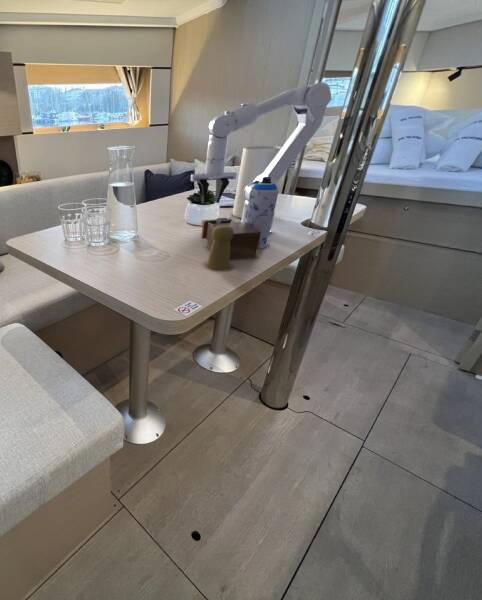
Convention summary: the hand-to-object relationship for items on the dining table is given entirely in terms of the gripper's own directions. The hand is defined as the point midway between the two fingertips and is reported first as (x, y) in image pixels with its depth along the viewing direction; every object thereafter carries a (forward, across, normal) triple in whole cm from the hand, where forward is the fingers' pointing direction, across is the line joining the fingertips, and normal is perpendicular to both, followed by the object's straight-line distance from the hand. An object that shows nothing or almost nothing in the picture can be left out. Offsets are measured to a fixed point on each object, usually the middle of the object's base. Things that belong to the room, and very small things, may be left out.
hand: (210, 202), depth 107 cm
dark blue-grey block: (+5, 0, -11) cm, 12 cm away
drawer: (+9, 0, -10) cm, 14 cm away
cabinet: (+10, 0, -20) cm, 23 cm away
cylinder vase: (+10, +24, +17) cm, 31 cm away
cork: (+11, -8, -29) cm, 32 cm away
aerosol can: (+10, +10, -14) cm, 20 cm away
